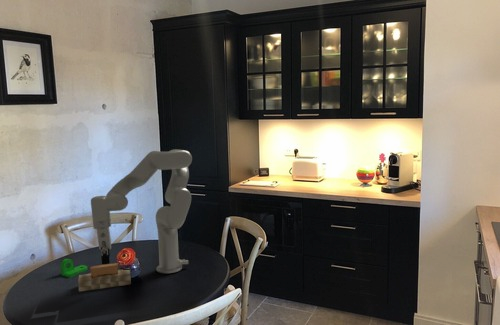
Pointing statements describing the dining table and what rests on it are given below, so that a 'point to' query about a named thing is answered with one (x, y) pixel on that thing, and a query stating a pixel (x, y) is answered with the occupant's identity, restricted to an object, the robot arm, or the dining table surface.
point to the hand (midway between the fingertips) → (106, 260)
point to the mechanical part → (71, 268)
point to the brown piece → (104, 269)
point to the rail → (104, 280)
